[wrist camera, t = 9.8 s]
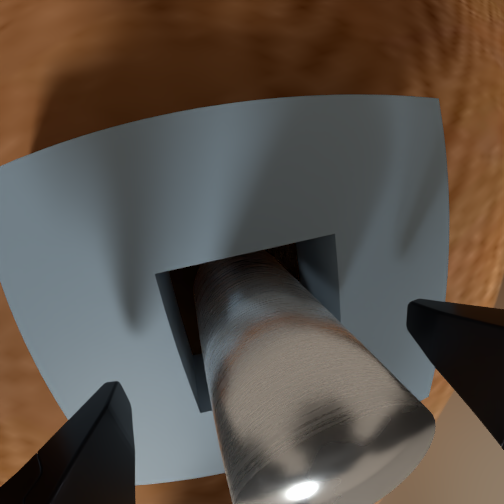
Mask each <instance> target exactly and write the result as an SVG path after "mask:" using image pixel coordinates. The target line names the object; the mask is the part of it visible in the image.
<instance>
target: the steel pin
mask: <svg viewBox="0 0 504 504" xmlns="http://www.w3.org/2000/svg"><path fill="white" fill-rule="evenodd" d="M193 291H194V301H195V308H196V315H197V322H198V329H199V336H200V342H201V349H202V355H203V361H204V367H205V373H206V379H207V384H208V390H209V396H210V401H211V406H212V412H213V417H214V422H215V427H216V432H217V437H218V442H219V446H220V451H221V456H222V460H223V465H224V469H225V474H226V478H227V482H228V487H229V491H230V495H231V499H232V503H233V504H374V503H375V502H377V501H378V500H380V499H381V498H383V497H384V496H386V495H387V494H388V493H390V492H391V491H392V490H393V489H395V488H396V487H397V486H398V485H399V484H400V483H402V482H403V480H405V479H406V478H407V477H408V476H409V475H410V474H411V473H412V471H413V470H414V469H415V468H416V467H417V465H418V464H419V463H420V461H421V460H422V459H423V457H424V456H425V454H426V453H427V451H428V449H429V447H430V445H431V443H432V440H433V437H434V434H435V419H434V417H433V415H432V413H431V412H430V411H429V410H428V409H427V408H426V407H425V406H424V405H423V404H422V403H421V402H420V401H419V400H418V399H417V398H416V397H415V396H414V395H413V394H412V393H411V392H410V391H409V390H408V389H407V388H406V387H405V386H404V385H403V384H402V383H401V382H400V381H399V380H398V379H397V378H396V377H395V376H394V375H393V374H392V373H391V372H390V371H389V370H388V369H387V368H386V367H385V366H384V365H383V364H382V363H381V362H380V361H379V360H378V359H377V358H376V357H375V356H374V355H373V354H372V353H371V352H370V351H369V350H368V349H367V348H366V347H365V346H364V345H363V344H362V343H361V342H360V341H359V340H358V339H357V338H356V337H355V336H354V335H353V334H352V333H351V332H350V331H349V330H348V329H347V328H346V327H345V326H344V325H343V324H342V323H340V322H339V321H338V320H337V319H336V318H335V317H334V316H333V315H332V314H331V313H330V312H329V311H328V310H327V309H326V308H325V307H324V306H323V305H322V304H321V303H320V302H319V301H318V300H317V299H316V298H315V297H314V296H313V295H312V294H311V293H310V292H309V291H308V290H307V289H306V288H305V287H304V286H303V285H302V284H301V283H300V282H299V281H298V280H297V279H295V278H294V277H293V276H292V275H291V274H290V273H289V272H288V271H287V270H286V269H285V268H284V267H283V266H282V265H281V264H280V263H279V262H278V261H277V260H276V259H275V258H274V257H273V256H272V255H271V254H269V253H268V252H267V251H265V250H260V251H255V252H251V253H246V254H242V255H237V256H233V257H228V258H224V259H219V260H215V261H210V262H206V263H203V264H202V265H201V266H200V268H199V270H198V272H197V274H196V277H195V281H194V288H193Z"/></svg>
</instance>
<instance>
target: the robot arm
mask: <svg viewBox="0 0 504 504" xmlns="http://www.w3.org/2000/svg"><path fill="white" fill-rule="evenodd" d="M406 327H407V330H408V332H409V333H410V334H411V336H412V337H413V339H414V340H415V341H416V343H417V344H418V345H419V347H420V348H421V350H422V351H423V352H424V354H425V355H426V357H427V358H428V359H429V361H430V362H431V363H432V364H433V366H434V367H435V368H436V369H437V370H438V371H439V372H440V374H441V375H442V376H443V377H444V378H445V379H446V380H447V382H448V383H449V384H450V385H451V386H452V387H453V389H454V390H455V391H456V392H457V393H458V394H459V396H460V397H461V398H462V399H463V400H464V401H465V403H466V404H467V405H468V406H469V407H470V409H471V410H472V411H473V412H474V413H475V415H476V416H477V417H478V418H479V420H480V421H481V422H482V423H483V424H484V426H485V427H486V428H487V429H488V431H489V432H490V433H491V434H492V436H493V437H494V438H495V439H496V441H497V442H498V443H499V444H500V446H502V449H503V450H504V309H496V308H489V307H481V306H473V305H465V304H458V303H450V302H443V301H435V300H428V299H421V298H419V299H416V300H413V301H411V302H409V303H408V306H407V319H406ZM0 504H135V443H134V432H133V420H132V408H131V404H130V401H129V399H128V397H127V395H126V393H125V391H124V389H123V387H122V385H121V384H120V382H118V381H112V382H106V383H104V384H103V385H102V386H101V387H100V388H99V389H98V390H97V391H96V392H95V393H94V394H93V395H92V396H91V397H90V399H89V400H88V401H87V402H86V403H85V404H84V405H83V406H82V407H81V408H80V409H79V410H78V411H77V412H76V413H75V414H74V415H73V416H72V417H71V418H70V419H69V420H68V421H67V422H66V423H65V424H64V425H63V426H62V427H61V428H60V429H59V430H58V431H57V432H56V433H55V434H54V435H53V436H52V437H51V438H50V439H49V441H48V442H47V443H46V444H45V445H44V446H43V447H42V448H41V449H40V450H39V451H38V454H37V453H36V454H35V455H34V456H33V457H32V458H31V459H30V460H29V461H28V462H27V463H26V464H25V465H24V466H23V467H22V468H21V469H20V470H19V471H18V472H17V473H16V474H15V475H14V476H13V477H11V478H10V479H9V480H8V481H7V482H6V483H5V484H3V485H2V486H1V487H0Z"/></svg>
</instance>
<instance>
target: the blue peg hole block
mask: <svg viewBox="0 0 504 504" xmlns="http://www.w3.org/2000/svg"><path fill="white" fill-rule="evenodd" d="M295 242H296V250H297V258H298V266H299V274H300V283H301V284H302V285H303V286H304V287H305V288H306V289H307V290H308V291H309V292H310V293H311V294H312V295H313V296H314V297H315V298H316V299H317V300H318V301H319V302H320V303H321V304H322V305H323V306H324V307H325V308H326V309H327V310H328V311H329V312H330V313H331V314H332V315H333V316H334V317H335V318H336V319H337V320H338V321H339V322H340V323H342V324H343V325H344V326H345V327H346V328H347V329H348V330H349V331H350V332H351V333H352V334H353V335H354V336H355V337H356V338H357V339H358V340H359V341H360V342H361V343H362V344H363V345H364V346H365V347H366V348H367V349H368V350H369V351H370V352H371V353H372V354H373V355H374V356H375V357H376V358H377V359H378V360H379V361H380V362H381V363H382V364H383V365H384V366H385V367H386V368H387V369H388V370H389V371H390V372H391V373H392V374H393V375H394V376H395V377H396V378H397V379H398V380H399V381H400V382H401V383H402V384H403V385H404V386H405V387H406V388H407V389H408V390H409V391H410V392H411V393H412V394H413V395H414V396H415V397H416V398H417V399H418V400H419V401H421V400H423V399H425V398H427V397H428V396H429V393H430V388H431V384H432V379H433V375H434V370H435V367H434V366H433V364H432V363H431V362H430V361H429V359H428V358H427V357H426V355H425V354H424V352H423V351H422V350H421V348H420V347H419V345H418V344H417V343H416V341H415V340H414V339H413V337H412V336H411V334H410V333H409V332H408V330H407V327H406V319H407V306H408V303H409V302H411V301H413V300H416V299H419V298H421V299H428V300H435V301H443V302H445V297H446V286H447V273H448V255H449V191H448V173H447V160H446V149H445V140H444V132H443V124H442V117H441V111H440V104H439V99H438V98H427V97H414V96H396V95H315V96H297V97H283V98H272V99H261V100H252V101H244V102H236V103H228V104H221V105H215V106H208V107H202V108H196V109H191V110H185V111H180V112H175V113H170V114H165V115H160V116H156V117H151V118H147V119H143V120H138V121H134V122H130V123H126V124H122V125H119V126H115V127H111V128H108V129H104V130H100V131H97V132H94V133H90V134H87V135H84V136H80V137H77V138H74V139H71V140H68V141H65V142H62V143H59V144H56V145H53V146H51V147H48V148H45V149H42V150H40V151H37V152H34V153H32V154H29V155H27V156H24V157H22V158H19V159H17V160H14V161H12V162H9V163H7V164H5V165H2V166H0V282H1V285H2V288H3V290H4V293H5V296H6V298H7V301H8V304H9V306H10V309H11V311H12V314H13V316H14V319H15V321H16V323H17V326H18V328H19V330H20V332H21V335H22V337H23V339H24V341H25V343H26V345H27V348H28V350H29V352H30V354H31V356H32V358H33V360H34V362H35V364H36V366H37V367H38V369H39V371H40V373H41V375H42V377H43V379H44V380H45V382H46V384H47V386H48V388H49V389H50V391H51V393H52V394H53V396H54V398H55V400H56V401H57V403H58V404H59V406H60V408H61V409H62V411H63V412H64V414H65V416H66V417H67V419H68V420H69V419H70V418H71V417H72V416H73V415H74V414H75V413H76V412H77V411H78V410H79V409H80V408H81V407H82V406H83V405H84V404H85V403H86V402H87V401H88V400H89V399H90V397H91V396H92V395H93V394H94V393H95V392H96V391H97V390H98V389H99V388H100V387H101V386H102V385H103V384H104V383H106V382H112V381H118V382H120V384H121V385H122V387H123V389H124V391H125V393H126V395H127V397H128V399H129V401H130V404H131V408H132V420H133V432H134V443H135V485H145V484H156V483H165V482H173V481H181V480H187V479H194V478H200V477H206V476H211V475H216V474H221V473H225V469H224V465H223V460H222V456H221V451H220V446H219V442H218V437H217V432H216V427H215V422H214V417H213V412H212V406H211V401H210V396H209V390H208V384H207V379H206V373H205V367H204V361H203V355H202V353H201V354H196V355H193V354H192V351H191V347H190V344H189V341H188V337H187V334H186V331H185V327H184V324H183V321H182V317H181V314H180V310H179V307H178V303H177V299H176V296H175V292H174V288H173V285H172V281H171V277H170V273H169V271H170V270H175V269H179V268H184V267H188V266H193V265H197V264H202V263H206V262H210V261H215V260H219V259H224V258H228V257H233V256H237V255H242V254H246V253H251V252H255V251H260V250H264V249H269V248H273V247H278V246H282V245H287V244H291V243H295Z"/></svg>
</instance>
